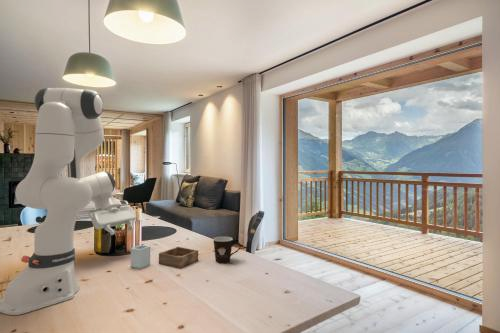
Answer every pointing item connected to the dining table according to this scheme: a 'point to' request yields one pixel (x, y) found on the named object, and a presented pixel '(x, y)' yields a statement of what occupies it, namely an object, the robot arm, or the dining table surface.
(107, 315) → the dining table surface
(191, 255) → the brown wooden tray
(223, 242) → the coffee mug
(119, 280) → the dining table surface
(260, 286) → the dining table surface
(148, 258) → the grey piece
